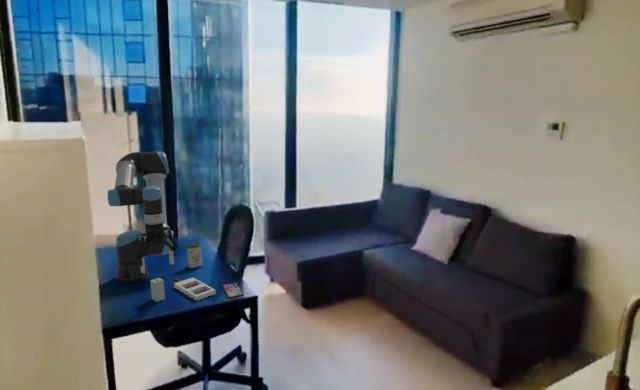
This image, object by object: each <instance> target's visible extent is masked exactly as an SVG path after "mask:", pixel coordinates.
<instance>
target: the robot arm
mask: <svg viewBox="0 0 640 390" xmlns="http://www.w3.org/2000/svg"><path fill="white" fill-rule="evenodd" d="M115 172H116V178H115V182H114V183H115V184H114V188H111V189H108V191H107V202H108V203H107V204H108V205H109V206H110V207H124V206H125V207H126V206H139V205H143V211H144V212H143V215H144V223H145V224H144V226H145V227H144V228H145V233H142V231H141V230H139V229H138V230H137V229H131V230H128V231H125V232H122V233H120V234H119V235H117V237H116V244H115V247H116V253H117V269H116V273H115V281H116V282H118V283H121V284H133V283H138V282H141V281H143V280H147V278H148V277H149V270H148V267H147V266H146V263H145V258H146V257H154V256H164V255H168V259H169V264H170V265H172V266H174V265H175V257H176V251H177V249H179V247H180V246H179V244H178V243H177V241H176V240H175V238H174V231H173V230H171V227H170V226H169V225H168V224H167V222H168V221H167V210H166V209H167V208H166V194H165V179H166V178H167V177H168V176H167V175H168V174H169V173H170V168H169V164H168V159H167V154H166V153H165V152H164V151H140V152H138V151H136V152H135V151H134V152H130V153H128V154H125V155H124V156H122V157H121V158H120V159H119V160H118V162H117V163H116V165H115ZM136 175H138V176H139V175H142V178H143V180H145V183H146V186H145V187H134V177H135V176H136Z"/></svg>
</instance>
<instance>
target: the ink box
mask: <svg viewBox="0 0 640 390" xmlns="http://www.w3.org/2000/svg"><path fill="white" fill-rule="evenodd" d="M192 244H193V245H192ZM202 253H203V252H202V247H200V240H195V241H190V242H186V256H187V257H186V258H187V267H188V268H189V269H195V268H199V267H203V264H204V263H203V254H202Z"/></svg>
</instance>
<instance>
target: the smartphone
mask: <svg viewBox="0 0 640 390" xmlns="http://www.w3.org/2000/svg"><path fill="white" fill-rule="evenodd" d="M221 287H222V290H223V291H224V293H225V295H226V297H227V299H232V298H233V299H234V298H237V297H238V298H239V297H244V296H245V294H244V292H243V290H242V289H241V287H240V285H239V283H238V282H231V283H230V282H229V283H225V284H222V285H221Z"/></svg>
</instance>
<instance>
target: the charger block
mask: <svg viewBox="0 0 640 390" xmlns="http://www.w3.org/2000/svg"><path fill="white" fill-rule="evenodd" d="M149 281H150V284H149V285H150V294H151V300H152V301H154V302H156V303H158V302H160V301H163V300H166V295H165V294H166V293H165V280H164V279H162V278H160V277H158V278H154V279H150V280H149Z"/></svg>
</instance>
